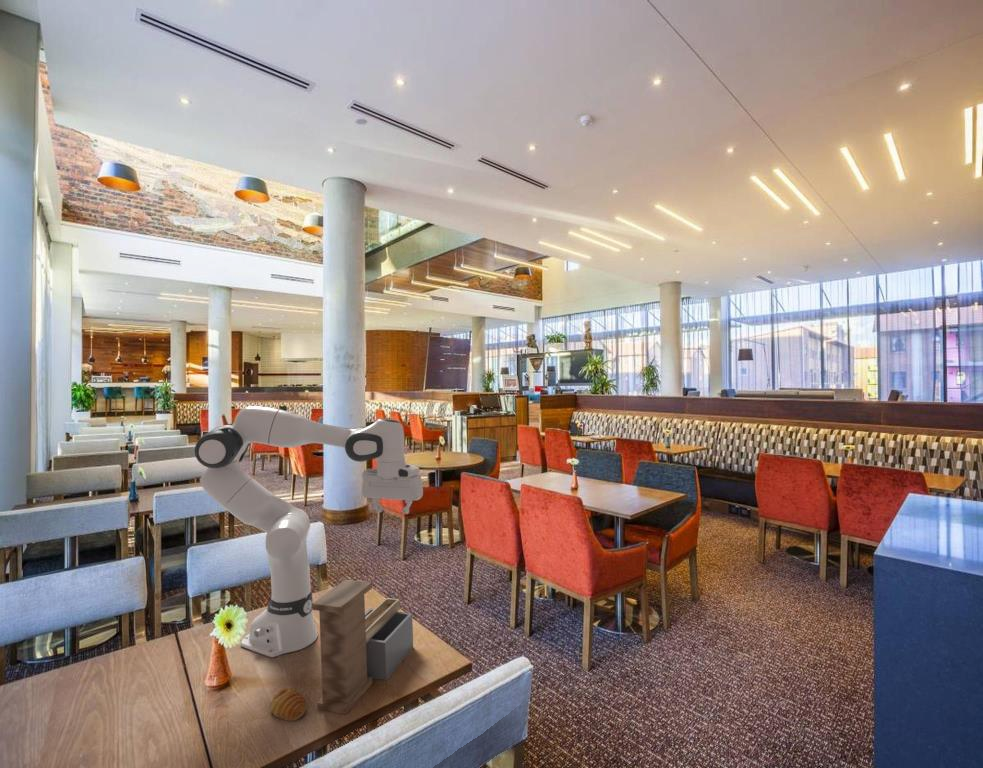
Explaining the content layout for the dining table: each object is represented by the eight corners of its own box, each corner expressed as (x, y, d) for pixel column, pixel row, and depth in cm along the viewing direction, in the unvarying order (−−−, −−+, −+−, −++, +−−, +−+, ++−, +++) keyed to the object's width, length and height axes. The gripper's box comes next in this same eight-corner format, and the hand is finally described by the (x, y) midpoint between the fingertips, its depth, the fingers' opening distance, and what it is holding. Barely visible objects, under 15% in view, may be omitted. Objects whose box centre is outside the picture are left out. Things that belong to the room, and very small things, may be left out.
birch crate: (351, 641, 128) (351, 630, 128) (386, 607, 146) (386, 597, 146) (366, 643, 127) (365, 632, 127) (399, 609, 145) (399, 599, 145)
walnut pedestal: (315, 710, 116) (311, 603, 116) (349, 675, 130) (345, 579, 129) (344, 715, 114) (340, 607, 113) (375, 679, 127) (371, 582, 127)
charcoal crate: (340, 672, 131) (339, 636, 131) (371, 640, 146) (370, 608, 146) (386, 680, 127) (385, 642, 127) (413, 647, 142) (412, 613, 142)
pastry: (314, 710, 116) (313, 695, 116) (288, 728, 111) (287, 712, 111) (291, 696, 122) (291, 682, 122) (266, 712, 116) (265, 697, 116)
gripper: (356, 470, 152) (358, 513, 153) (415, 472, 146) (417, 517, 147) (367, 466, 158) (369, 508, 159) (424, 468, 152) (425, 511, 153)
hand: (392, 512), depth 153 cm, fingers open, 8 cm apart
